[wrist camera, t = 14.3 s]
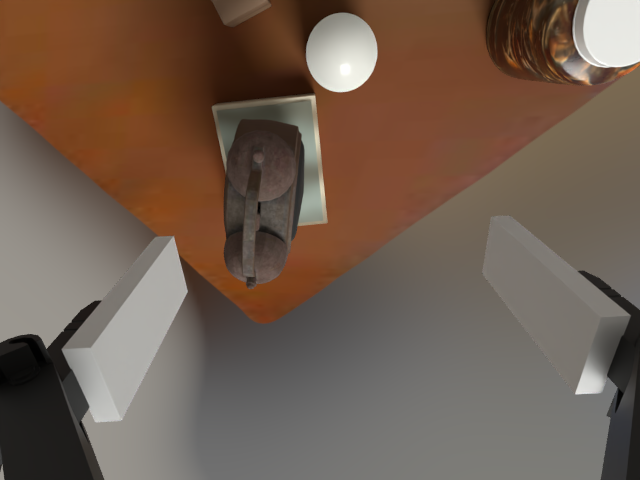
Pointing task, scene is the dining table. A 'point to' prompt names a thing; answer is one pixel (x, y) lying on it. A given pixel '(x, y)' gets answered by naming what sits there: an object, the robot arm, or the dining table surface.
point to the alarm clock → (262, 198)
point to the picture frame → (291, 112)
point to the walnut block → (239, 10)
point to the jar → (565, 39)
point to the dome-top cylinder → (341, 52)
